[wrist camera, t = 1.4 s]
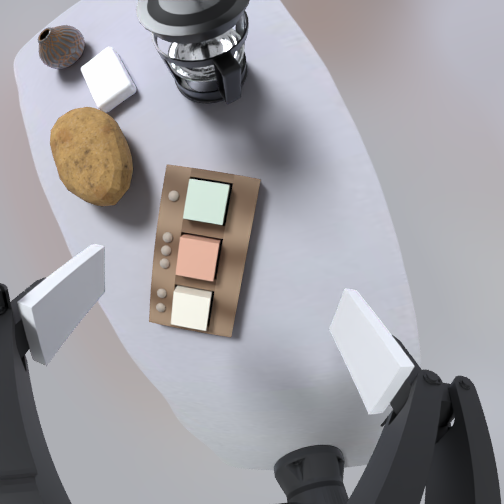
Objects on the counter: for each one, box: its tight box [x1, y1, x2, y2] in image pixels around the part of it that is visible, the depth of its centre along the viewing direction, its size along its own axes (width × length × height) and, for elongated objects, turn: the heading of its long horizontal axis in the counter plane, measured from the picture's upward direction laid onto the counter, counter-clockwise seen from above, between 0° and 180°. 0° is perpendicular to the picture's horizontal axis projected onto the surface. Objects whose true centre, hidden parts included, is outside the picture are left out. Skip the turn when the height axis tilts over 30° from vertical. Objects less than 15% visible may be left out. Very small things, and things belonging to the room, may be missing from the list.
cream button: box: [171, 285, 212, 331], centre depth 34 cm, size 4×4×3 cm
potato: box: [50, 107, 133, 206], centre depth 28 cm, size 10×14×8 cm
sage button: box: [183, 179, 230, 225], centre depth 31 cm, size 4×4×3 cm
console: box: [149, 165, 261, 337], centre depth 34 cm, size 20×11×3 cm, turn 169°
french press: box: [136, 0, 250, 104], centre depth 19 cm, size 12×9×23 cm
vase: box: [38, 25, 85, 69], centre depth 23 cm, size 7×7×9 cm
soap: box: [81, 47, 137, 112], centre depth 28 cm, size 9×6×3 cm, turn 30°
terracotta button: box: [176, 233, 221, 281], centre depth 32 cm, size 4×4×3 cm
